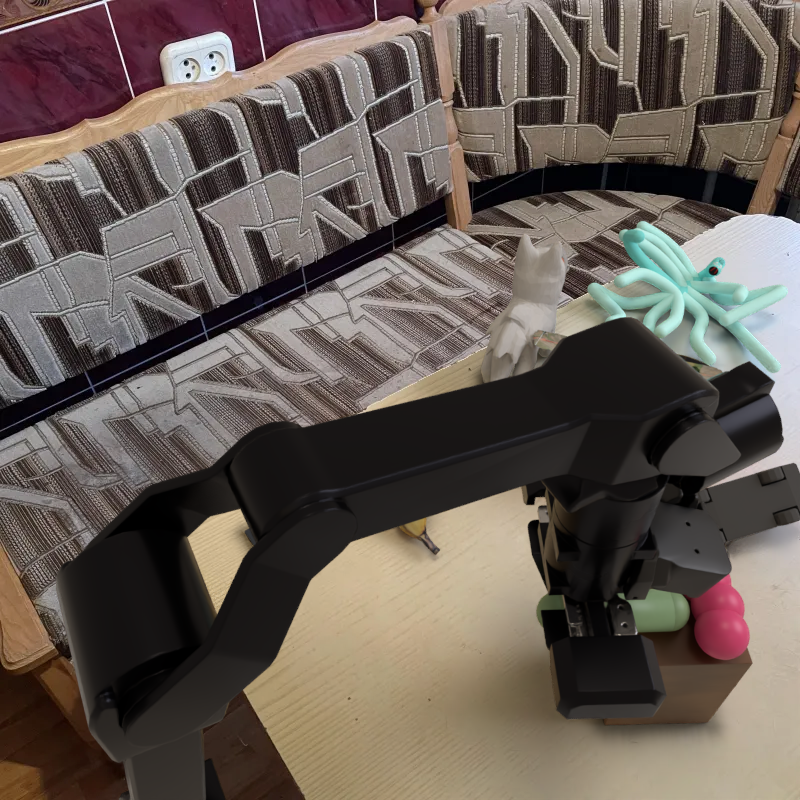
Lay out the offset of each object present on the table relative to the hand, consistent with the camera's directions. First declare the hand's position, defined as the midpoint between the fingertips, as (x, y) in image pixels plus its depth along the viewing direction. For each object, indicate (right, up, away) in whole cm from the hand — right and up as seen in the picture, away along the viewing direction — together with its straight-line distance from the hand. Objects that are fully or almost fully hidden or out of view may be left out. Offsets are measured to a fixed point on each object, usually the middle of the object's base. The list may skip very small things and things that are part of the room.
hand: (566, 627), depth 56 cm
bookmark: (+12, +21, +26) cm, 35 cm away
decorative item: (+18, +20, +32) cm, 42 cm away
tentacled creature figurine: (+18, +26, +30) cm, 44 cm away
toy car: (+20, +7, +13) cm, 25 cm away
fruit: (-7, +8, +22) cm, 24 cm away
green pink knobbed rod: (+5, +1, -1) cm, 5 cm away
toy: (+3, +21, +34) cm, 41 cm away
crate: (+9, -7, +8) cm, 14 cm away
